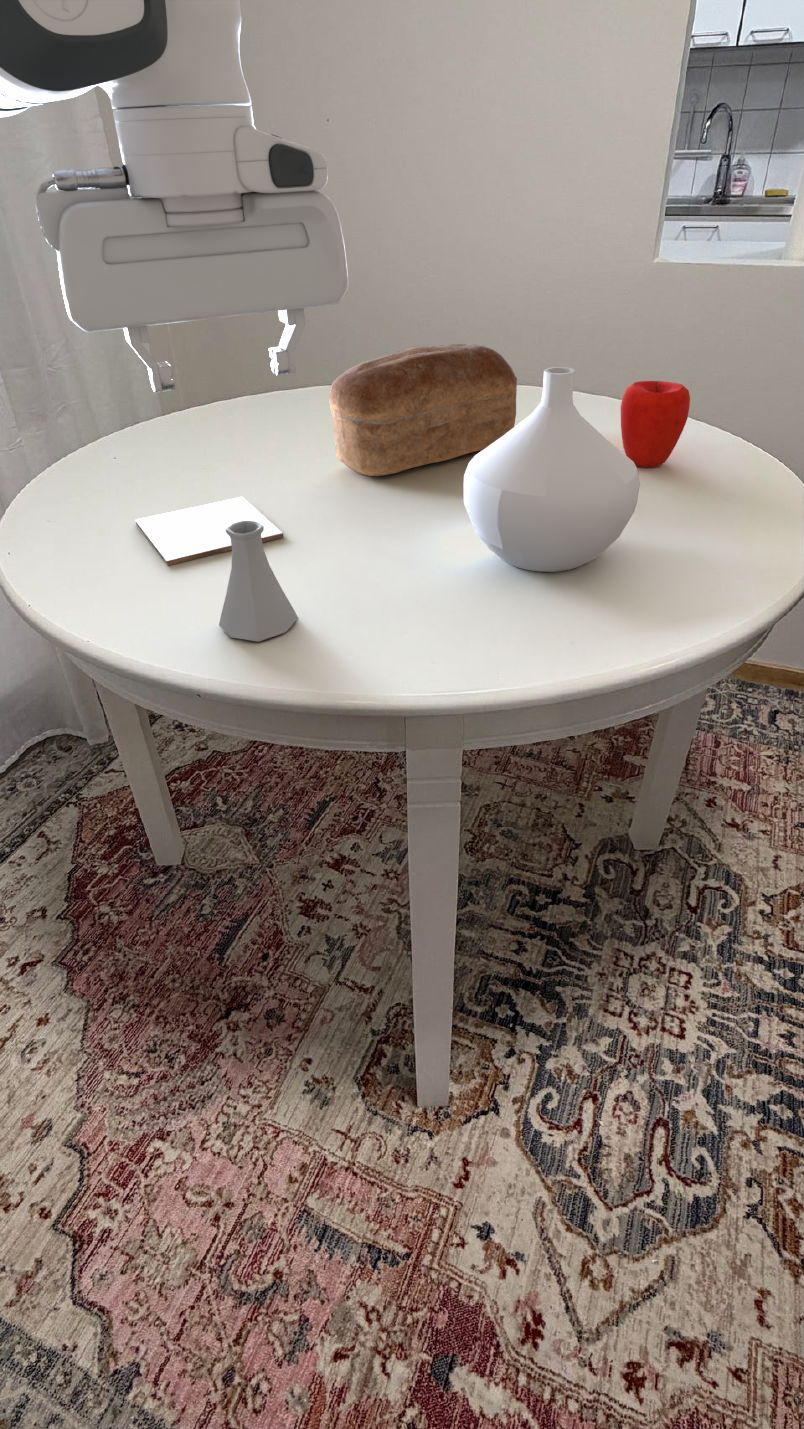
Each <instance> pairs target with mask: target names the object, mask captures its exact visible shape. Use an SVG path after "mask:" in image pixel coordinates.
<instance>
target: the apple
mask: <svg viewBox="0 0 804 1429" xmlns="http://www.w3.org/2000/svg"><path fill="white" fill-rule="evenodd" d="M690 405H691V395H690V391H689V389H687V387H686V386H684V385H683V384H681V383H679V382H671V381H663V380H640V381H635V382H633V383H632V384H630V385H629V386H627V387H626V389H625V391H624V393H623V395H622V399H621V403H620V431H621V440H622V447H623V450H624V454H625V455H626V456H627V457H628V458H629V459H631V460H632V461H633V462H634V464H635V466H636V467H639V468H640V467H641V468H657V467H660V466H662V465H663V464H666V462H667V460H668V459H669V457H670V456H671V454H672V453H673V451H674V449H675V447H676V446H677V444H678V442H679V440H680V438H681V435H682V433H683V431H684V428H685V426H686V424H687V420H688V418H689V412H690V407H691V406H690Z"/></svg>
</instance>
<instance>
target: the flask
mask: <svg viewBox="0 0 804 1429" xmlns="http://www.w3.org/2000/svg"><path fill="white" fill-rule="evenodd" d="M225 530H226V533H227V535H229V536H230V539H231V546H232V550H231V568H230V572H229V573H230V575H229V578H228V584H227V588H226V593H225V597H224V601H223V605H222V610H221V612H220V613H221V614H220V617H219V622H218V626H219V627H220V628H221V629H222V630H223V631H224V632H225V633H226V634H227V635H228V636H229V637H230V638H233V639H239V640H247V641H252V642H261V641H264V640H268V639H271V638H273V637H276V636H279V635H282V634H284V633H287V631H288V630H289V629H290V628H291V627H292V626H293V625H294V624H295V622H296V621H298V619H299V616H298V615H297V612H296V611H295V609H294V608H293V605H292V603H291V602H290V600H289V598H288V597H287V595H286V593H285V592H284V590H283V588H282V586H281V584H280V583H279V581H278V579H277V577H276V575H275V573H274V572H273V569H272V567H271V566H270V564H269V561H268V557H267V555H266V554H267V553H266V551H265V549H264V544H263V543H262V537H261V533H262V532H263V530H264V527H263V525H261V524H260V523H258V522H257V521H248V520H244V521H240V522H236V523H232V524H231V525H230V526H228V527H227V528H226V529H225Z"/></svg>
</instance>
